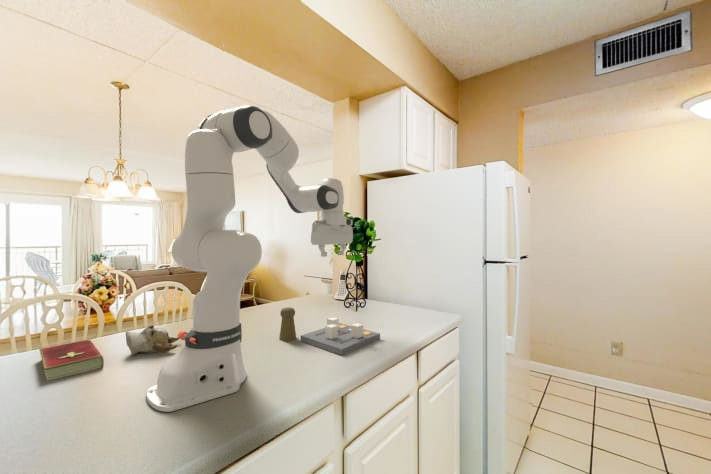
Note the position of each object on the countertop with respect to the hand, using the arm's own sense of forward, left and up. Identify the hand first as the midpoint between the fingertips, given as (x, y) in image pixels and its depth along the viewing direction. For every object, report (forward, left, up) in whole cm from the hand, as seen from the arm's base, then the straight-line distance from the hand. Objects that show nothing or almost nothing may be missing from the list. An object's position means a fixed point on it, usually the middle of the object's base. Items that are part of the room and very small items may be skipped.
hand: (332, 255), depth 124 cm
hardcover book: (-73, +35, -30) cm, 87 cm away
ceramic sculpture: (-54, +28, -30) cm, 68 cm away
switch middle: (-12, -11, -27) cm, 31 cm away
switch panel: (-7, -11, -29) cm, 32 cm away
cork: (-18, +5, -29) cm, 35 cm away
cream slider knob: (-5, -17, -27) cm, 32 cm away
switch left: (-5, -5, -27) cm, 28 cm away
